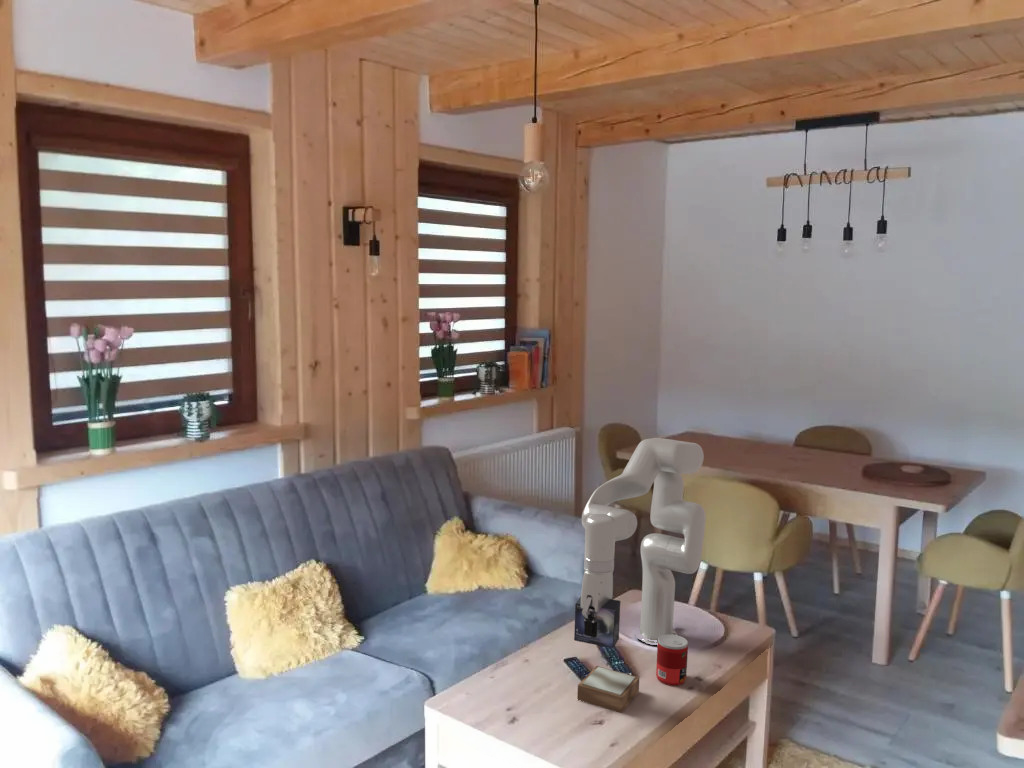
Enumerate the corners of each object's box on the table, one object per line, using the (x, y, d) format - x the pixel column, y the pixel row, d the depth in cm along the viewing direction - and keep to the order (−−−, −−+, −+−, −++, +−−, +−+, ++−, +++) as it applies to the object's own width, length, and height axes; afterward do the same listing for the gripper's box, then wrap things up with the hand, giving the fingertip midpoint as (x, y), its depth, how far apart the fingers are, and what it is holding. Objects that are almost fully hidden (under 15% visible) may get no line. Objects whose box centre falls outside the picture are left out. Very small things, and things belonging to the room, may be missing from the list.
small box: (572, 641, 215) (573, 602, 213) (580, 631, 221) (581, 593, 219) (613, 649, 211) (614, 609, 209) (619, 638, 217) (621, 599, 215)
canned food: (686, 687, 222) (688, 648, 220) (655, 684, 223) (657, 645, 222) (686, 674, 229) (688, 635, 228) (656, 670, 231) (658, 632, 229)
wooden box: (596, 679, 225) (596, 664, 224) (638, 691, 219) (639, 676, 218) (577, 699, 214) (577, 684, 214) (621, 712, 209) (622, 696, 208)
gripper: (600, 550, 222) (597, 614, 225) (570, 571, 207) (568, 639, 210) (626, 556, 218) (624, 621, 221) (598, 577, 203) (595, 647, 206)
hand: (596, 629), depth 216 cm, fingers closed on small box, 6 cm apart
